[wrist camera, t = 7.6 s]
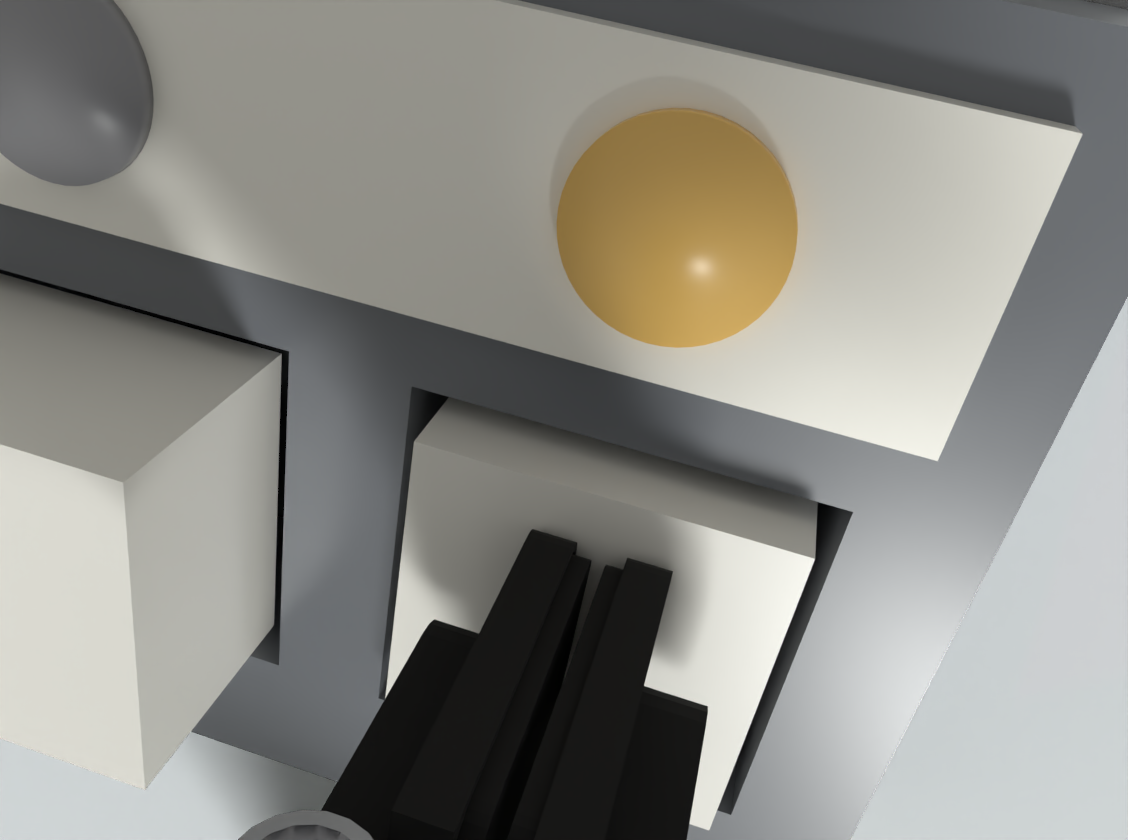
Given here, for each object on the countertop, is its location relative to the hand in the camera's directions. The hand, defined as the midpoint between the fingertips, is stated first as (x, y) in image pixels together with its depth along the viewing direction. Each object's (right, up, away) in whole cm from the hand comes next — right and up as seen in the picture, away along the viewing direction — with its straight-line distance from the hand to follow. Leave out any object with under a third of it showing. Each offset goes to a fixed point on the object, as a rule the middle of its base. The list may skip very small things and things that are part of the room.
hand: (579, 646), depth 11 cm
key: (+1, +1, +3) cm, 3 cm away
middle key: (-6, +2, +2) cm, 7 cm away
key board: (-5, +5, +3) cm, 8 cm away
